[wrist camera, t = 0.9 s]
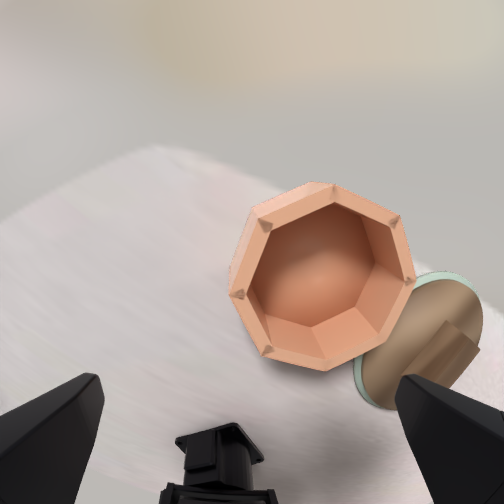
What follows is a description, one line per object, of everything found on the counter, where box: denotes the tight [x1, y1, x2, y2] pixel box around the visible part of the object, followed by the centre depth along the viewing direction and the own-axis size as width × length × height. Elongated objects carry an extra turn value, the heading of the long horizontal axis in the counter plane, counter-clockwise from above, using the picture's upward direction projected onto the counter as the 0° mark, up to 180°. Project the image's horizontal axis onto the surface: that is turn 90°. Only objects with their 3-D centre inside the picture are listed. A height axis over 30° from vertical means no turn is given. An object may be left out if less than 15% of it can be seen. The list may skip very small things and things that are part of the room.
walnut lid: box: [361, 279, 483, 410], centre depth 21 cm, size 13×13×4 cm
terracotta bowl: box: [229, 182, 417, 372], centre depth 18 cm, size 10×10×5 cm
